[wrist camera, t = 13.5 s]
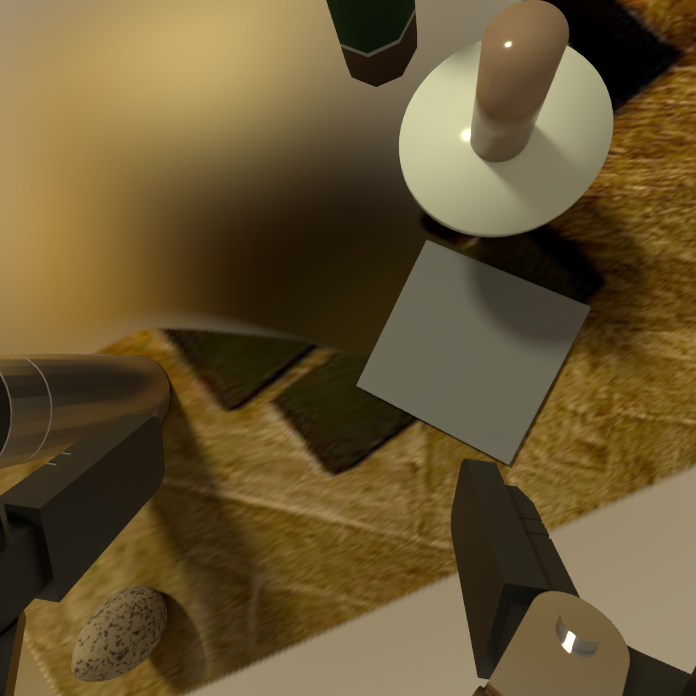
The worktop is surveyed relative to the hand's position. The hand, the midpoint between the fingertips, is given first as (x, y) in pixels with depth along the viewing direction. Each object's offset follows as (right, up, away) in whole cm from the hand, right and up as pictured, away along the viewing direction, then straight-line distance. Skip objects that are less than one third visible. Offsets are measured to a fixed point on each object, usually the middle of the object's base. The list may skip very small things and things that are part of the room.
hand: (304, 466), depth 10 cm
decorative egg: (-21, -26, +35) cm, 48 cm away
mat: (+12, +3, +27) cm, 30 cm away
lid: (+12, +18, +18) cm, 28 cm away
